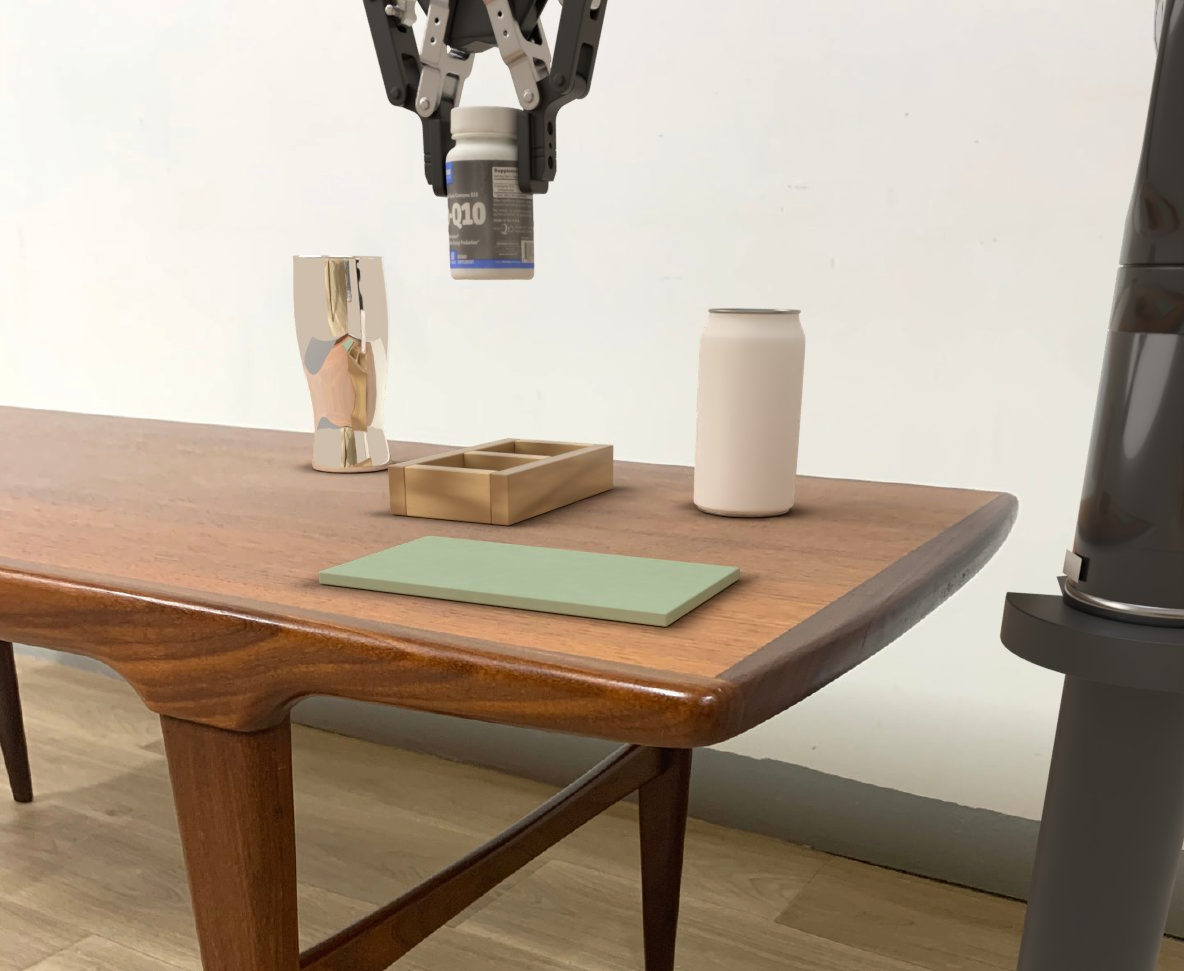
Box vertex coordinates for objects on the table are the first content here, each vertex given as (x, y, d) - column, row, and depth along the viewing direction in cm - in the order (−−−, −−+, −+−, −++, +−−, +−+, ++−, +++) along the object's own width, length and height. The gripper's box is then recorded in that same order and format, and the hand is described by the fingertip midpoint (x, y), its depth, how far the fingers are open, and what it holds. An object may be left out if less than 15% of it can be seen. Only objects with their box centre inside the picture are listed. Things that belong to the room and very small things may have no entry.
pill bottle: (434, 280, 69) (425, 110, 65) (502, 280, 71) (497, 117, 68) (482, 279, 65) (476, 101, 62) (552, 279, 68) (549, 108, 65)
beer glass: (344, 458, 99) (330, 256, 93) (415, 464, 96) (405, 257, 90) (287, 469, 93) (268, 255, 87) (360, 476, 90) (346, 255, 84)
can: (683, 515, 77) (691, 310, 72) (703, 498, 82) (711, 307, 78) (786, 521, 75) (801, 311, 70) (799, 503, 81) (813, 309, 76)
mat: (739, 579, 60) (740, 567, 60) (666, 627, 52) (667, 613, 52) (428, 546, 67) (427, 535, 67) (318, 583, 59) (318, 571, 59)
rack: (613, 488, 86) (613, 444, 85) (508, 526, 73) (508, 474, 72) (508, 480, 89) (507, 437, 88) (390, 514, 76) (387, 465, 75)
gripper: (641, -187, 60) (637, 195, 67) (398, -146, 66) (416, 202, 73) (574, -241, 54) (577, 186, 61) (312, -190, 60) (341, 195, 66)
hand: (490, 193), depth 67 cm, fingers closed on pill bottle, 4 cm apart
